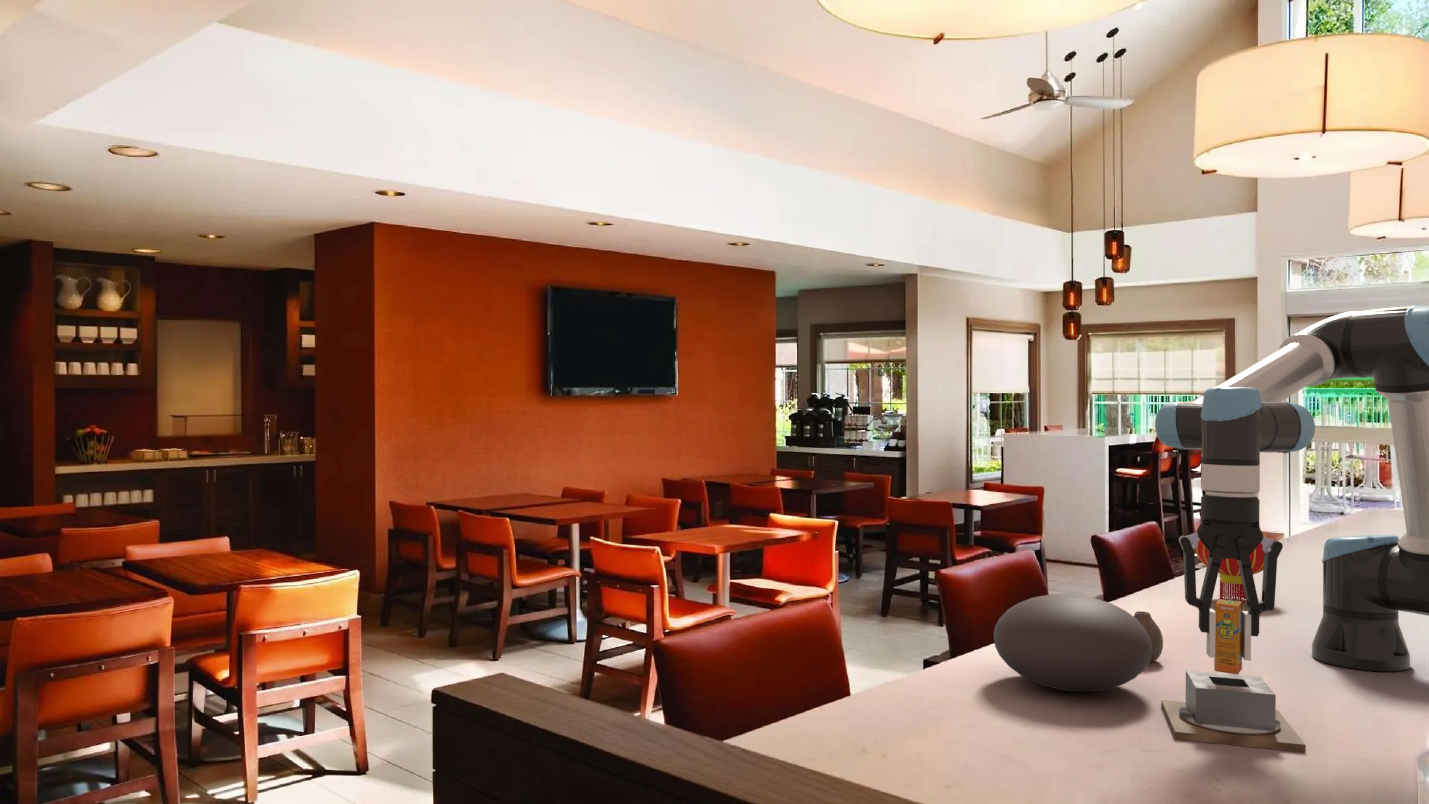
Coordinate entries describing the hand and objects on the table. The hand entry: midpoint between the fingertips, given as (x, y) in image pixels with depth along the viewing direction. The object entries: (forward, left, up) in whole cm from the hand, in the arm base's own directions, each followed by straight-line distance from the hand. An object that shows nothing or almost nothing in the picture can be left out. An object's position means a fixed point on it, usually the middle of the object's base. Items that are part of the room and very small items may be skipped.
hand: (1228, 656), depth 144 cm
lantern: (-19, -109, -10) cm, 111 cm away
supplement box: (0, 0, -2) cm, 2 cm away
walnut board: (0, 0, -10) cm, 10 cm away
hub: (0, 0, -10) cm, 10 cm away
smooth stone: (+21, -15, -11) cm, 28 cm away
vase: (+8, -38, -11) cm, 40 cm away
